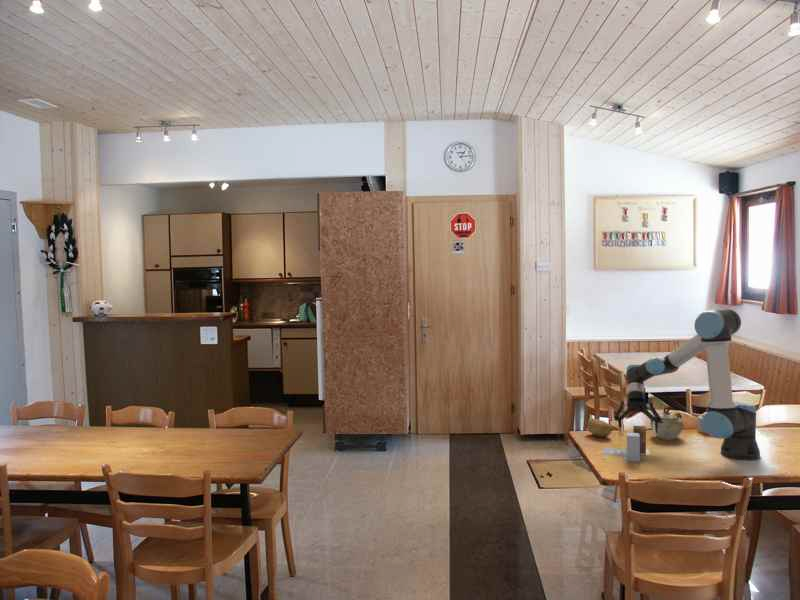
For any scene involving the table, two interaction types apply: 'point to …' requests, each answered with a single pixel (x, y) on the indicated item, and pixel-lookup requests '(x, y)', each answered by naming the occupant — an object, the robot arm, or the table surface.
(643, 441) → the walnut block
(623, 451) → the code tile
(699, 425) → the lumpy-topped squat cylinder
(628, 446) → the bluegrey block
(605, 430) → the potato
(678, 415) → the sugar bowl
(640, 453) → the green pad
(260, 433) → the table surface
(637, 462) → the code tile
